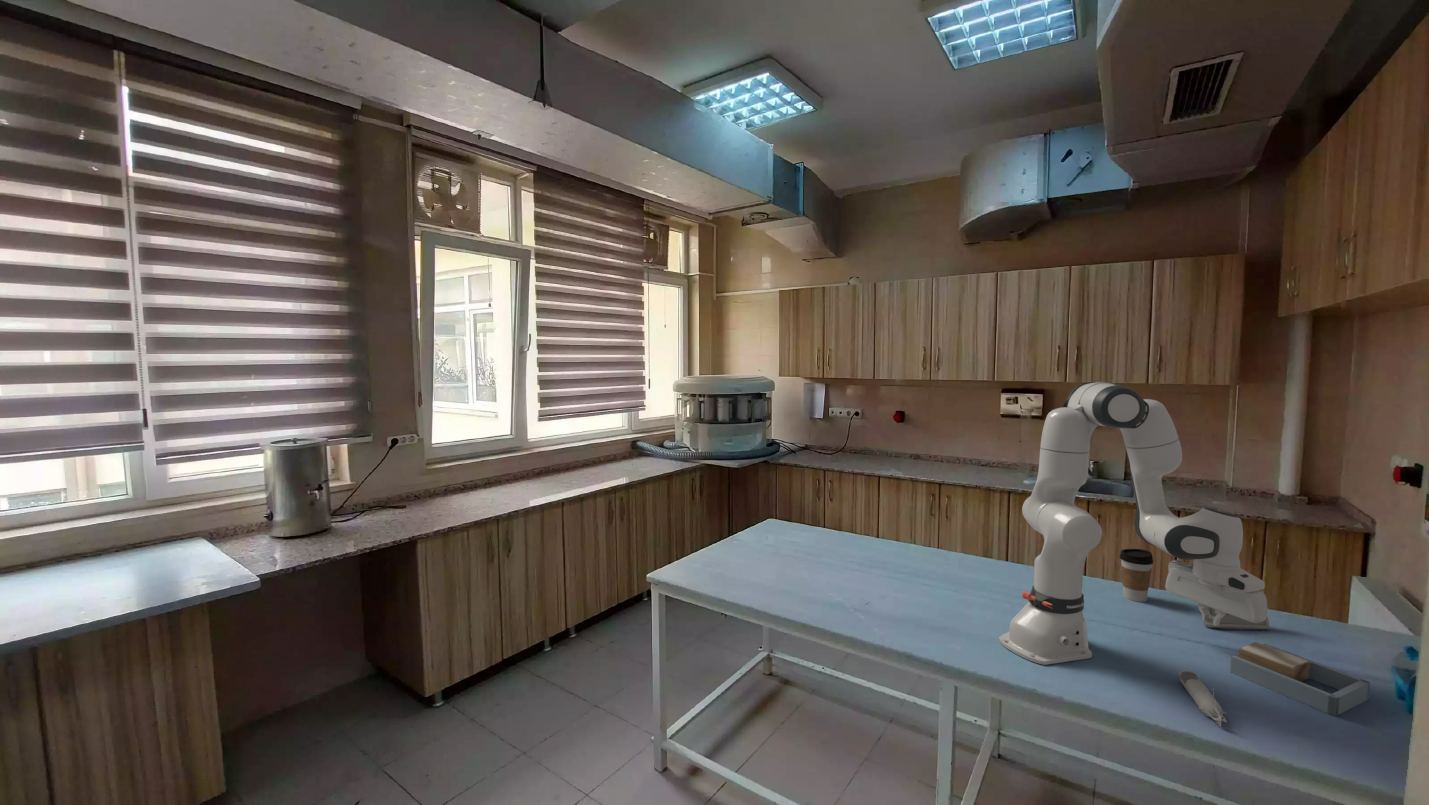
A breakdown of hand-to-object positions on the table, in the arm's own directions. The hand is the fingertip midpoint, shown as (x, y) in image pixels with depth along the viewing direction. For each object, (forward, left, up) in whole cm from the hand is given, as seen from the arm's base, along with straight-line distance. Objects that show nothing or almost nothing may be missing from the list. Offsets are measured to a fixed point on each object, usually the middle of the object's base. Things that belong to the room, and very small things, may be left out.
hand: (1210, 623), depth 142 cm
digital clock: (+21, +5, -8) cm, 23 cm away
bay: (+1, -16, -8) cm, 18 cm away
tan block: (+1, -12, -8) cm, 14 cm away
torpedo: (-26, -12, -8) cm, 30 cm away
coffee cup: (+16, +28, -8) cm, 33 cm away
